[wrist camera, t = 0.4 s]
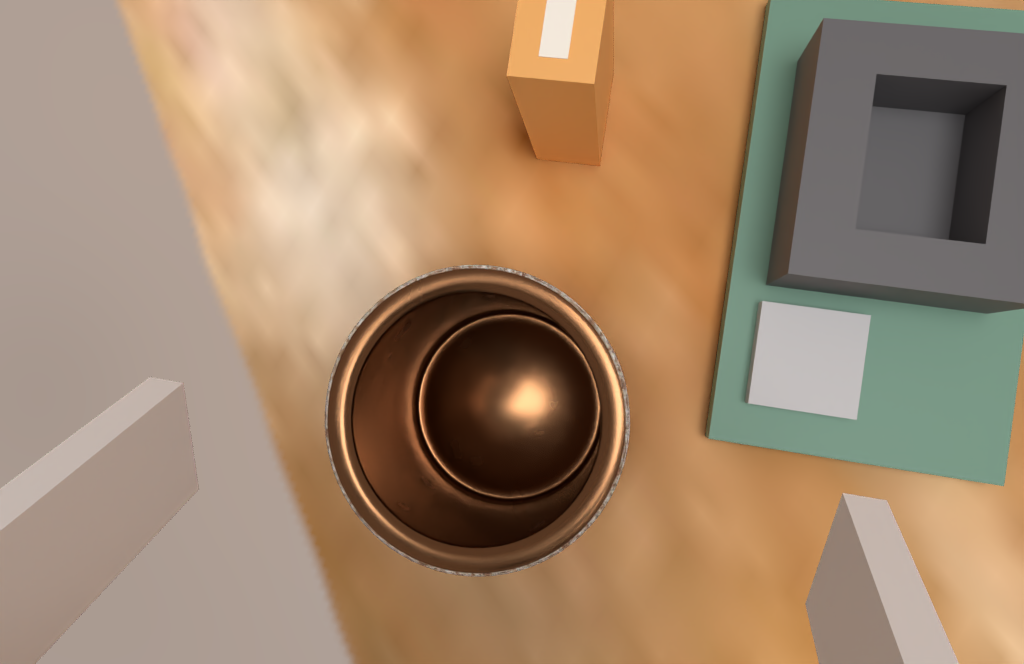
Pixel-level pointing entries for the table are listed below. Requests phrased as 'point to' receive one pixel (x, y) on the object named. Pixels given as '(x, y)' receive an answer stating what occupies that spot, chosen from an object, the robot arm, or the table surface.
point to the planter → (477, 420)
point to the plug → (563, 75)
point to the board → (906, 346)
